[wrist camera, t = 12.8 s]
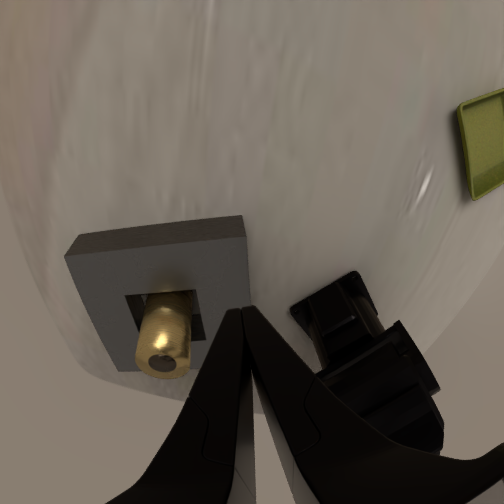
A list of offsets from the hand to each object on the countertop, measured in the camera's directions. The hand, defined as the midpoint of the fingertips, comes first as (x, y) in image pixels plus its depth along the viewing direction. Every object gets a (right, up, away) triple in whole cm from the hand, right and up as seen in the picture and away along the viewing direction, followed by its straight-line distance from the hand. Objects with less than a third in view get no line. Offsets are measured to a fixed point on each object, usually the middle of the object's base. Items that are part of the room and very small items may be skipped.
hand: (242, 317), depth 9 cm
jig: (-6, -1, +14) cm, 16 cm away
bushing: (-6, -1, +14) cm, 16 cm away
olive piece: (+21, +12, +10) cm, 26 cm away
